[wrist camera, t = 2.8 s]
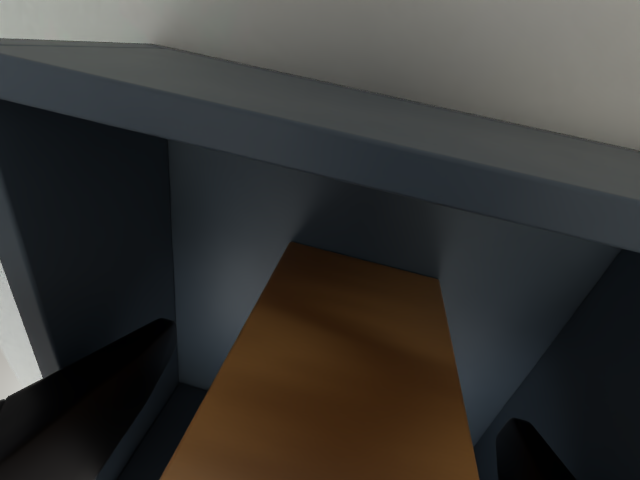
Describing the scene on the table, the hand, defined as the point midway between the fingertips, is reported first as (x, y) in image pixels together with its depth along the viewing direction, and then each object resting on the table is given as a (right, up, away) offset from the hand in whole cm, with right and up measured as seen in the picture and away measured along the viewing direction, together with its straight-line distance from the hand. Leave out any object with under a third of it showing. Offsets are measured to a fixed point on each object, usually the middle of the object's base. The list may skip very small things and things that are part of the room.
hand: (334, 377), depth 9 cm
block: (+1, +1, +2) cm, 2 cm away
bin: (+1, +1, +2) cm, 3 cm away
